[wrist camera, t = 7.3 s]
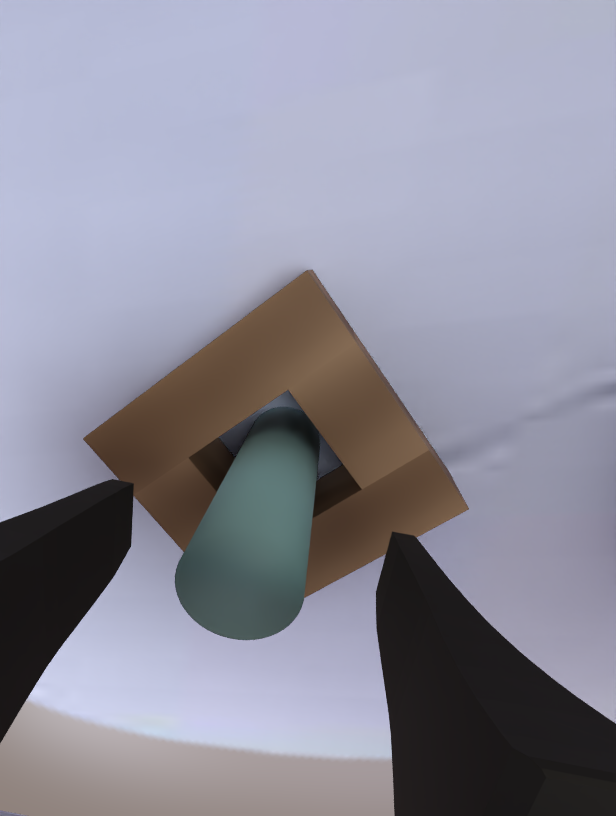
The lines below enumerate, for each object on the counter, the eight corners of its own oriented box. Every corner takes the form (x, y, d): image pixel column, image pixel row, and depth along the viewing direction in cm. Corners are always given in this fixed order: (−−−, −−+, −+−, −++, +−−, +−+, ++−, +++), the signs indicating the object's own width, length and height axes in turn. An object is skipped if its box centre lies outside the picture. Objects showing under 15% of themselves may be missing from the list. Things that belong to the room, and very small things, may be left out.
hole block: (448, 471, 18) (468, 509, 16) (262, 577, 21) (250, 626, 18) (312, 270, 16) (307, 270, 14) (121, 412, 19) (82, 438, 16)
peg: (334, 450, 19) (330, 606, 10) (276, 484, 19) (226, 658, 11) (294, 393, 18) (252, 508, 9) (236, 430, 19) (148, 569, 10)
